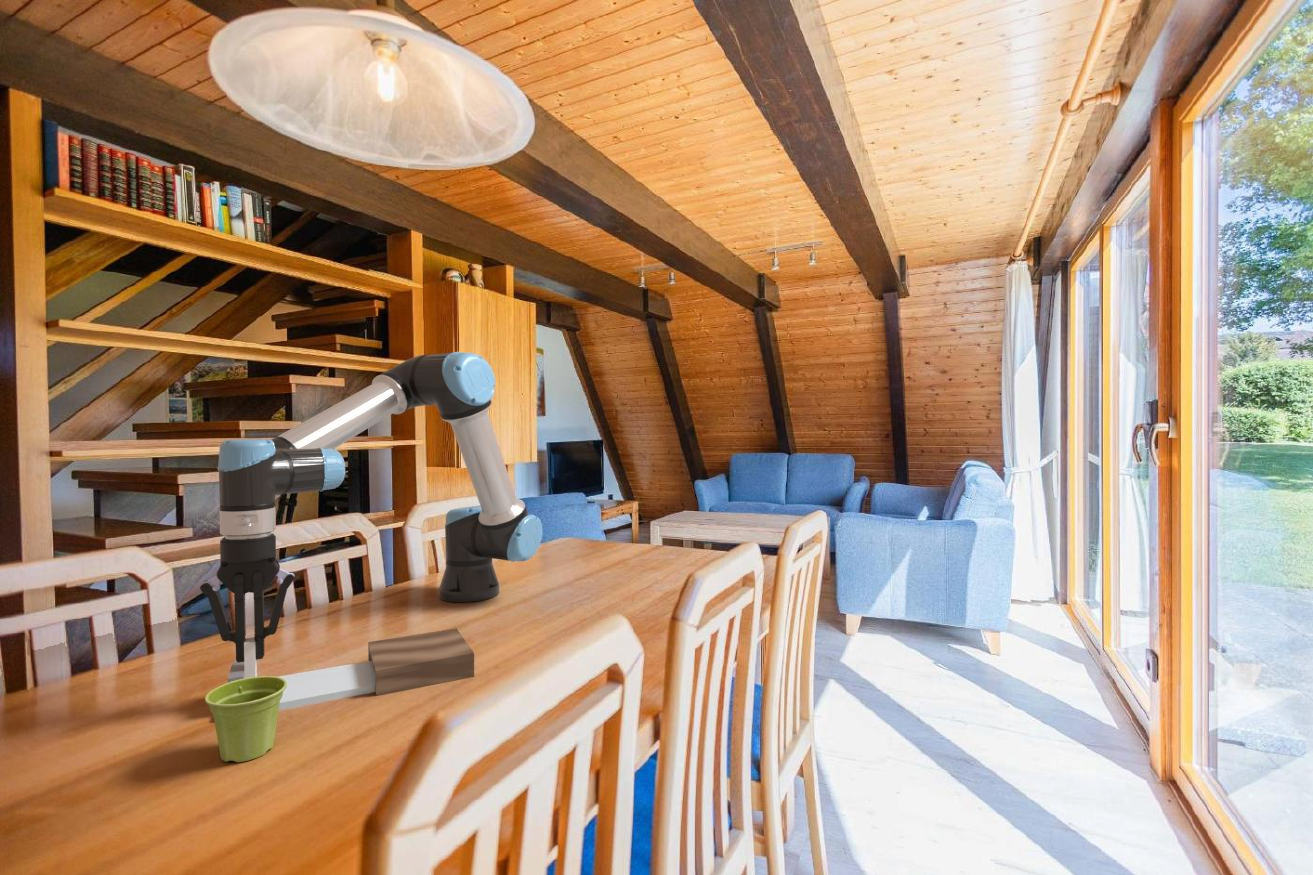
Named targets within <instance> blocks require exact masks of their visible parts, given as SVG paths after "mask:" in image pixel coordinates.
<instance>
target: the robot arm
mask: <svg viewBox="0 0 1313 875" xmlns="http://www.w3.org/2000/svg"><path fill="white" fill-rule="evenodd" d="M495 387H496V377H495V374H494V371H493V368H492V367H491V365H490V364H489V362H488V361H487V360H486V359H484V358H483V357H482V356H480V355H478V354H476V353H473V352H463V351H455V352H447V353H446V352H445V353H435V354H433V353H432V354H431V353H429V354H420V355H416V356H414V357H411V358H408V359H407V360H404V361H403V362H401V363H398V364H396V365H394V366H393V367H391V368H389V369H387V370H386V371H384V372H382V373H380V374H378V375H376V376H375V377H374V378H373V379H372V382H371V384H370V385H368V386H366V387H365V388H363V389H361V390H359V391H357V392H356V393H354V394H351V395H350V396H348V397H346V398H344V399H342V400H341V401H339V402H336V404H334V405H331V406H330V407H329V408H326V409H325V410H323V411H321V412H319V413H317V414H316V415H313V416H312V417H310V418H308V419H307V420H305V421H303V422H301V423H299V424H297V425H296V426H294V427H292V428H291V429H289V430H286V431H285V432H283V433H282V434H279V435H278V436H276V437H274V438H272V439H269V438H256V439H255V438H254V439H253V438H252V439H250V438H249V439H245V438H244V439H240V438H239V439H234V438H233V439H227V440H224V441H223V442H221V444H220V446H219V452H218V465H217V472H218V487H219V488H218V489H219V494H218V495H219V534H220V535H221V536H223V537H222V538H221V539H220V541H219V551H220V552H219V553H220V554H219V555H220V556H219V557H220V564H219V568H218V569H217V572H216V575H214V576H213V577H211V578H210V579H207V580H205V581H204V580H203V582H202V584H201V585H200V587H199V589H200V591H201V592H202V593H203V594H204V596H205V597H206V598H208V601H209V602H208V603H209V605H210V608H211V611H212V615H213V618H214V620H215V622H216V626H217V629H218V632H219V635H220V638H221V640H222V641H223V642H233V643H234V644H235V661H237V663H239V662H244V675H245V678H250V677H258V674H257V671H258V669H257V667H258V666H257V664H258V663H257V660H262V659H263V658H264V656H265V638H267V637H269V636H271V635H275V634H276V633H277V629H278V626H279V623H280V620H281V619H280V618H281V616H282V611H283V607H284V603H285V600H286V595H287V591H288V589H289V588H290V586H291V585H292V583H293V582H294V580H295V573H294V572H293V571H287V570H284V569H282V568H281V566H280V563H279V562H278V560H277V536H276V534H274V531H276V529H277V526H276V525H277V524H276V523H277V522H276V521H277V520H276V518H277V517H276V516H277V515H276V514H277V513H276V511H277V510H276V497H277V496H280V495H281V496H282V495H286V494H287V495H289V494H299V493H310V492H320V493H321V492H324V491H327V490H328V491H329V490H333V489H336V488H339V486H341V484H342V483H343V481H344V480H345V476H346V462H345V460H344V456H343V455H342V454H341V453H340V452H339V451H338V450H336V448H338V447H340V446H341V445H343V444H345V443H346V442H349V440H351V439H353V438H355V437H356V436H358V435H359V434H361V433H363V432H364V431H366V430H367V429H370V428H371V427H372V426H375V425H376V424H377V423H379V422H382V421H383V420H384V419H386V418H388V417H390V416H391V415H392V414H393V415H401V414H404V412H406V411H407V410H410V409H413V408H416V407H424V406H436V408H437V410H438V413H439V416H440V418H441V420H442V421H444V422H447V423H449V424H450V425H451V428H452V431H453V434H454V437H455V439H456V441H457V442H456V443H457V444H458V445H457V446H458V448H459V449H460V450H459V451H460V454H461V455H462V456H461V457H462V458H463V462H464V464H465V466H466V470H467V472H468V473H467V474H468V476H469V478H470V480H471V483H472V486H473V489H474V491H475V495H476V497H477V500H478V503H479V505H474V506H473V505H472V506H465V507H459V508H453V509H450V510H449V511H447V512H446V515H445V516H446V517H445V524H444V532H445V561H446V562H445V564H446V565H445V569H444V571H443V575H442V579H441V581H440V585H439V587H438V590H439V591H438V598H439V599H440V600H443V601H446V602H450V603H451V602H452V603H474V602H480V601H485V600H489V599H491V598H494V597H496V596H498V595H500V581H499V579H498V576H497V573H496V570H495V568H494V564H493V559H495V560H499V561H500V560H503V561H509V562H511V563H515V562H522V563H523V562H526V561H528V560H530V559H531V558H533V557H534V555H535V554H536V553H537V552H538V550H539V547H540V546H541V543H542V539H543V523H542V521H541V519H540V518H539V517H538V516H536V515H534V514H529V513H528V510H527V507H526V503H525V502H524V500H522V499H519V498H517V497H516V493H515V491H514V488H513V485H512V482H511V479H510V475H509V473H508V470H507V467H506V463H505V461H504V457H503V454H502V451H501V448H500V446H499V445H500V444H499V442H498V439H497V436H496V434H495V431H494V428H493V425H492V422H491V419H490V415H489V410H490V408H491V407H492V401H491V399H492V398H493V396H494V394H495ZM276 576H277V579H276V582H277V584H278V588H277V589H278V590H277V594H276V596H275V601H274V605H273V608H272V611H271V612H272V613H271V615H270V619H269V624H268V625H266V626H265V604H264V602H265V596H264V594H265V590H266V589H267V588H268V586H269V585H270V584H271V582H272V581H273V580H274V579H275V578H276ZM220 583H222V584H223V586H225V587H226V588H227V589H228V590H229V591H230V592H231V593H233V596H234V630H232V627H231V624H230V623H231V622H230V620H229V618H228V615H227V611H226V608H225V606H224V602H223V599H222V596H221V592H220V591H219V590H220V589H221V584H220ZM247 593H251V594H253V618H254V619H253V620H254V623H253V624H254V626H253V627H254V637H252V636H251V637H246V635H247V633H246V632H247V630H246V629H247V628H246V594H247Z"/></svg>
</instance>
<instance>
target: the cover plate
mask: <svg viewBox="0 0 1313 875" xmlns="http://www.w3.org/2000/svg"><path fill="white" fill-rule="evenodd" d="M278 677H280V678H283V679H285V680H286V681H287V687H286V689H285V690H284V691H283V695H282V698H281V700H280V704H279V710H278V712H280V711H284V710H290V709H295V708H300V707H305V706H309V705H311V706H312V705H314V704H315V705H316V704H320V703H325V702H330V701H335V700H340V699H346V698H351V697H356V696H361V695H368V694H373V693H375V672H374V668H373V664H372V661H369V660H366V661H361V662H357V663H356V662H355V663H348V664H345V665H338V666H337V665H336V666H333V667H326V668H320V669H315V670H310V671H309V670H308V671H302V672H297V673H292V674H291V673H290V674H287V675H285V674H284V675H280V676H278ZM244 678H245V675H244V662H239V663H237V661H236V660H234V661H232V662H231V666H230V670H229V673H228V676H227V683H229V682H232V681H235V680H239V679H244Z"/></svg>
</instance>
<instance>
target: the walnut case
mask: <svg viewBox="0 0 1313 875" xmlns="http://www.w3.org/2000/svg"><path fill="white" fill-rule="evenodd" d="M367 644H368V646H367V648H368V649H367V650H368V656H367V657H368V661H372V664H373V668H374V672H375V692H374V693H375V696H381V695H387V694H392V693H396V692H402V691H407V690H412V689H417V688H423V687H428V686H433V685H438V684H443V683H448V682H453V680H454V681H457V680H463V679H469V678H473V677H475V653H474V651H473V649H472V648H471V647H470V645H469V644H468V642H467V641H466V640H465V638H464V637H463V636H462V633H461V632H460V631H459V630H458V628H450V629H442V630H437V631H430V632H424V633H418V634H411V635H405V636H400V637H398V636H397V637H393V638H387V639H386V638H385V639H380V640H379V639H378V640H373V641H368V642H367Z"/></svg>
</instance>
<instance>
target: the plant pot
mask: <svg viewBox="0 0 1313 875" xmlns="http://www.w3.org/2000/svg"><path fill="white" fill-rule="evenodd" d="M286 687H287V681H286V680H285V679H283V678H280V677H279V676H275V675H273V676H271V675H262V676H260V675H259V676H258V675H257V677H250V678H244V679H239V680H235V681H232V682H229V683H228V682H226V683H224V684H222V685H220V686H217V687H215V688H213V689H211V690H210V691H209V692H208V693H207V694H206V695H205V696H204V702H205V703H206V704H207V705H208V706H209V710H210V712H211V713H212V716H213V720H214V727H215V732H216V738H217V743H218V749H219V754H220V759H221V760H222V761H223V762H227V763H228V762H229V761H233V762H236V763H243V762H247V761H252V760H254V759H257V758H260V757H262V756H264V755H265V754H266V753H267V752H268V751H269V750H272V749H273V747H274V744H275V737H276V730H277V723H278V716H279V711H278V710H279V704H280V700H281V698H282V695H283V691H284V690H285V689H286Z"/></svg>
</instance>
